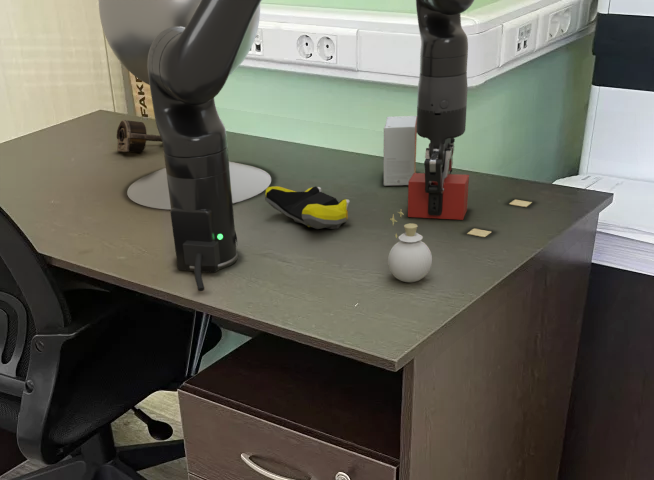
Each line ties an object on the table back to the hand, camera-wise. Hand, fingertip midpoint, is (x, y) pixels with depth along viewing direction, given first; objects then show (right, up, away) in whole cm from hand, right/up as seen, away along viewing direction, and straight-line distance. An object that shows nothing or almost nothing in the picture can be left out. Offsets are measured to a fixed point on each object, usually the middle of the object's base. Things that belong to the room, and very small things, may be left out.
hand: (437, 208), depth 142 cm
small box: (-3, +9, +17) cm, 20 cm away
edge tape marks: (+10, -2, -3) cm, 10 cm away
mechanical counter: (-54, +22, +45) cm, 74 cm away
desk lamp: (-41, +9, +23) cm, 48 cm away
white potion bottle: (-9, -15, -20) cm, 26 cm away
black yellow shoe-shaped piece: (-21, -2, +1) cm, 21 cm away
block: (0, -1, 0) cm, 1 cm away
